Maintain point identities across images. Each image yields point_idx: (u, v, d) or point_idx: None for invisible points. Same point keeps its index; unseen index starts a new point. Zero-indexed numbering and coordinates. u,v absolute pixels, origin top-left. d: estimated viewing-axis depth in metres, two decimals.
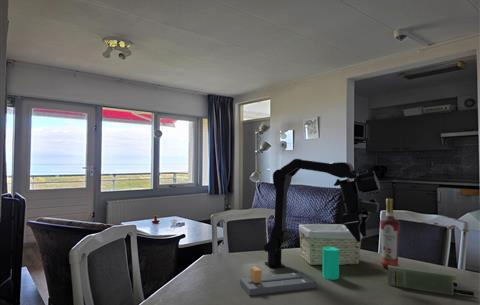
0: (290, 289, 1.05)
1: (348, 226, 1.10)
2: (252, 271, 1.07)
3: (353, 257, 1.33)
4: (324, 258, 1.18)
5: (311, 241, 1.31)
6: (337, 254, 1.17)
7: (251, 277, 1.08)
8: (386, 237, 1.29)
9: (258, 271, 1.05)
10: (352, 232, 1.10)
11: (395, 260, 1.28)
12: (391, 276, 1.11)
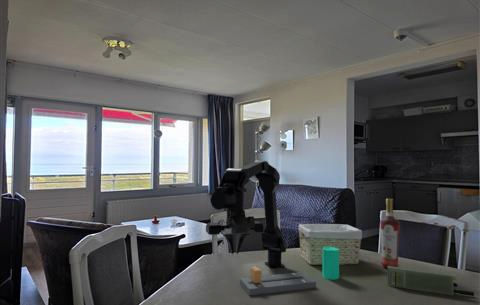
0: (290, 289, 1.05)
1: (225, 235, 1.06)
2: (252, 271, 1.07)
3: (353, 257, 1.34)
4: (324, 258, 1.18)
5: (311, 241, 1.32)
6: (337, 254, 1.17)
7: (251, 277, 1.08)
8: (386, 237, 1.29)
9: (258, 271, 1.05)
10: (228, 242, 1.06)
11: (395, 260, 1.28)
12: (391, 277, 1.10)
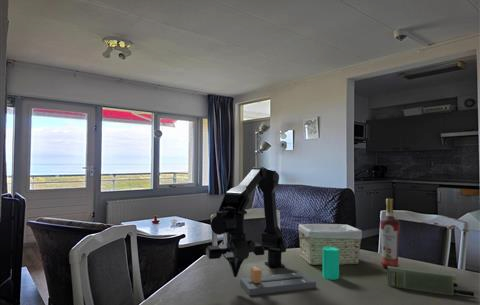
0: (290, 289, 1.05)
1: None
2: (252, 271, 1.07)
3: (353, 257, 1.34)
4: (324, 258, 1.18)
5: (311, 241, 1.32)
6: (337, 254, 1.17)
7: (251, 277, 1.08)
8: (386, 237, 1.29)
9: (258, 271, 1.05)
10: (230, 265, 1.06)
11: (395, 260, 1.28)
12: (391, 277, 1.10)
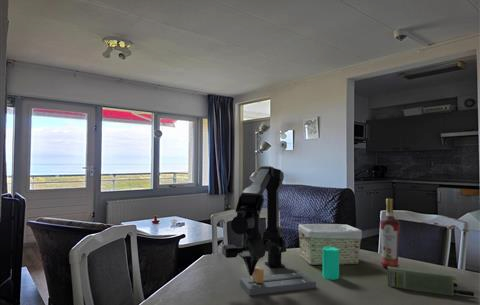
0: (290, 289, 1.05)
1: None
2: (254, 271, 1.07)
3: (353, 257, 1.34)
4: (324, 258, 1.18)
5: (311, 241, 1.32)
6: (337, 254, 1.17)
7: (253, 277, 1.08)
8: (386, 237, 1.29)
9: (260, 271, 1.06)
10: None
11: (395, 260, 1.28)
12: (391, 277, 1.09)
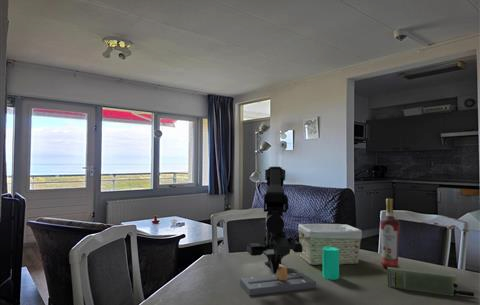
0: (290, 289, 1.05)
1: None
2: (278, 269, 1.10)
3: (353, 257, 1.34)
4: (324, 258, 1.18)
5: (311, 241, 1.32)
6: (337, 254, 1.17)
7: (277, 274, 1.10)
8: (386, 237, 1.29)
9: (284, 269, 1.08)
10: (269, 262, 1.10)
11: (395, 260, 1.28)
12: (391, 278, 1.09)
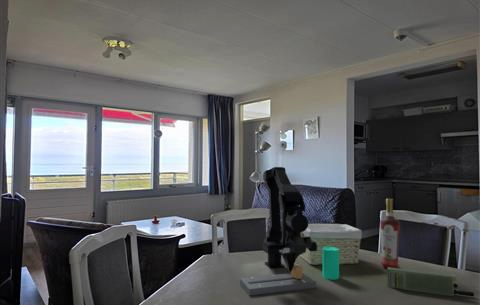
0: (290, 289, 1.05)
1: None
2: (293, 267, 1.11)
3: (353, 256, 1.34)
4: (324, 258, 1.18)
5: None
6: (337, 254, 1.17)
7: (292, 273, 1.12)
8: (386, 237, 1.29)
9: (299, 267, 1.10)
10: (284, 260, 1.12)
11: (395, 260, 1.28)
12: (391, 278, 1.09)
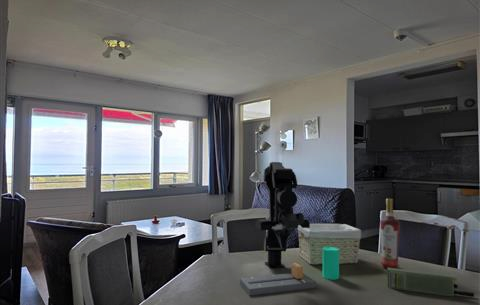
0: (290, 289, 1.05)
1: (275, 231, 1.14)
2: (294, 267, 1.11)
3: (352, 256, 1.35)
4: (324, 258, 1.18)
5: (311, 241, 1.32)
6: (337, 254, 1.17)
7: (292, 273, 1.12)
8: (386, 237, 1.29)
9: (300, 267, 1.10)
10: (277, 237, 1.14)
11: (395, 260, 1.28)
12: (391, 279, 1.08)
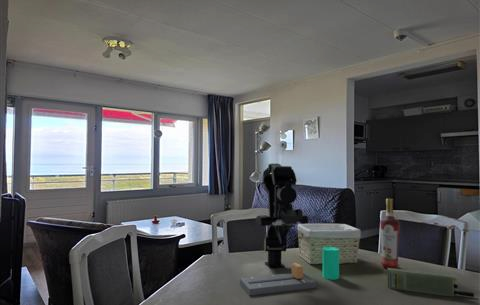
0: (290, 289, 1.05)
1: (275, 227, 1.17)
2: (294, 267, 1.11)
3: (352, 256, 1.35)
4: (324, 258, 1.18)
5: (311, 240, 1.32)
6: (337, 254, 1.17)
7: (292, 273, 1.12)
8: (386, 237, 1.29)
9: (300, 267, 1.10)
10: (277, 233, 1.17)
11: (395, 260, 1.28)
12: (391, 279, 1.08)
